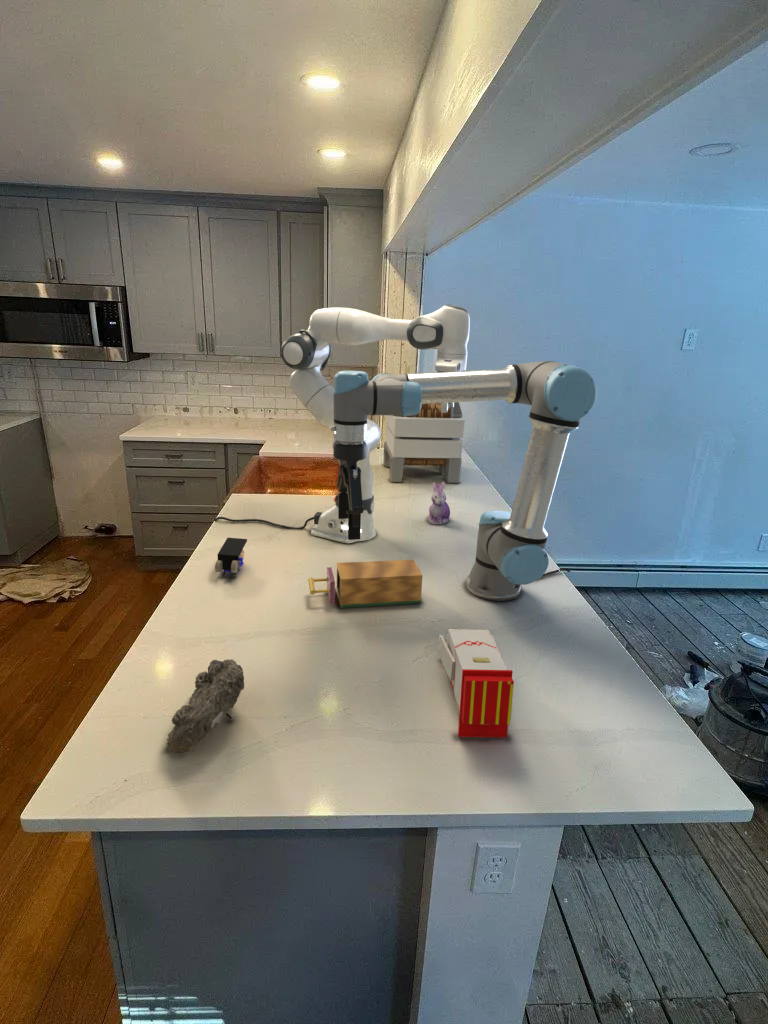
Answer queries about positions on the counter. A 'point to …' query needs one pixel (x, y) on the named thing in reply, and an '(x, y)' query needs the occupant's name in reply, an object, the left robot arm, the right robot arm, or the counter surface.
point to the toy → (478, 682)
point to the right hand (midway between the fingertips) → (348, 528)
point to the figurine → (439, 506)
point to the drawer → (330, 585)
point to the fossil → (206, 705)
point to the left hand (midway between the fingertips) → (447, 410)
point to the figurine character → (230, 556)
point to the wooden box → (379, 583)
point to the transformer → (425, 441)
